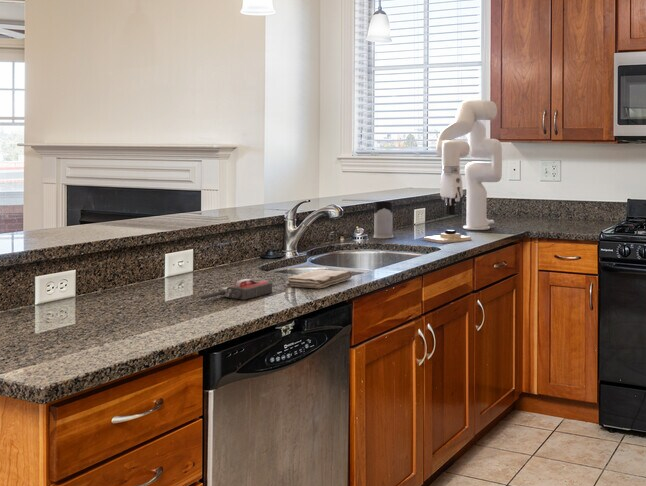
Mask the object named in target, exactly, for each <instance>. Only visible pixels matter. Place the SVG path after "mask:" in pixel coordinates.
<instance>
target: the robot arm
mask: <svg viewBox="0 0 646 486" xmlns="http://www.w3.org/2000/svg"><path fill="white" fill-rule="evenodd" d="M497 116H498V106H497V104H496V102H494V101H491V100H487V99H467V100H466V99H465V100H463V101H462V102H460V104H459V105H458V108H457V111H456V114H455V118H454V121H453V122H452V123H450V124H449V125H447V126H446V127H445V128H443V130H442V131H440V133H439V135H438V137H437V140H436V144H435V154H436V155H437V156H438V157H439V158H441V174H440V181H439V196H440V197H441V200H442V201H444V204H445V206H446V209H445V210H446V215H447V216H454V215H456V204H457V202H460V201H461V198H463V196H464V188H463V178H462V174H461V167H460V166H461V164H460V163H461V159H465V158H466V157H469V158H471V159H473V160H474V159H475V160H490V161H471V162H468V163H467V164H465V166H464V177H465V183H466V184H465V186H466V189H465V190H466V210H465V211H466V212H465V213H466V215H465V216H466V222H465V223H466V224H465V225H463V226H462V229H463V230H466V231H467V230H468V231H486V230H490V229H491V226H490V225H493V224H494V223H495V220H494V219H489V218H488V217H487V215H488V214H487V211H488V210H487V209H488V205H487V204H488V202H487V201H488V197H487V196H488V195H487V194H488V192H487V189H486V187H485V186H484V184H483V183H498V182H500V181H501V179H502V176H503V149H502V143H501V141H500V140H499V139H497V138H487V128H486V126H485V124H484V123H483V121H493V120H495V119H496V117H497ZM463 136H467V141H466V140H463V139H462V140H461V139H458V138H461V137H463ZM457 139H458V140H457Z"/></svg>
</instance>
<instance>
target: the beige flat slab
mask: <svg viewBox="0 0 646 486" xmlns="http://www.w3.org/2000/svg"><path fill="white" fill-rule="evenodd" d="M423 241H425V242H432V243H438V244H448V243H458V242H465V241H472V236H469V235H462V233H458V232H456V234H445V232H441V233H439V235H430V236H423Z"/></svg>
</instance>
